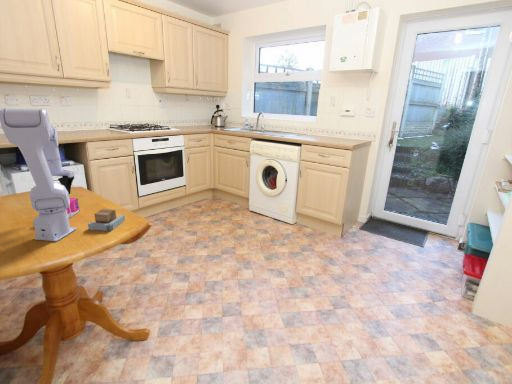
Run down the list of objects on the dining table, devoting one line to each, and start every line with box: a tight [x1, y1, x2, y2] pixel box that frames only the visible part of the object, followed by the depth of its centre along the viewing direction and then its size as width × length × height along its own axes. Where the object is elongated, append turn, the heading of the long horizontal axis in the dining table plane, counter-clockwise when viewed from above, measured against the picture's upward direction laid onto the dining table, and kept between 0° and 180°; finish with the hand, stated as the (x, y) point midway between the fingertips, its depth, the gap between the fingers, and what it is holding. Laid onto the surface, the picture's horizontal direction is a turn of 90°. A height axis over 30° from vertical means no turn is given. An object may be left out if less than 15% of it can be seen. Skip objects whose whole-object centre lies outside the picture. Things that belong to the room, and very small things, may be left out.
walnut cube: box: [93, 208, 117, 224], centre depth 103 cm, size 5×5×5 cm
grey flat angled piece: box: [87, 214, 126, 232], centre depth 104 cm, size 10×8×2 cm
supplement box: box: [66, 197, 81, 220], centre depth 108 cm, size 6×6×12 cm
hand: (58, 194), depth 105 cm, fingers open, 7 cm apart
